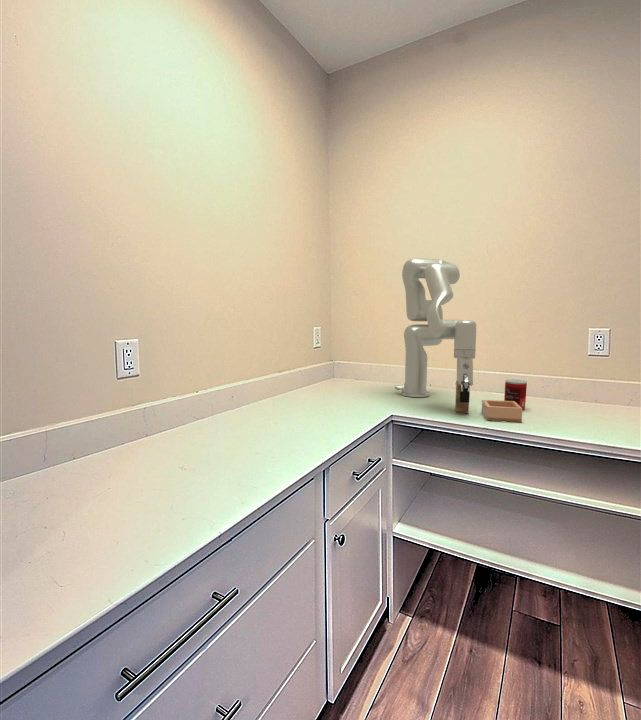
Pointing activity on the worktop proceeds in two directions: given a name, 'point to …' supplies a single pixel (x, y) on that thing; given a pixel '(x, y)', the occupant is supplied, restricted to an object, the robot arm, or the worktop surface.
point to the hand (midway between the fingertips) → (463, 399)
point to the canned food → (516, 391)
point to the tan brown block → (460, 406)
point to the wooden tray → (501, 411)
